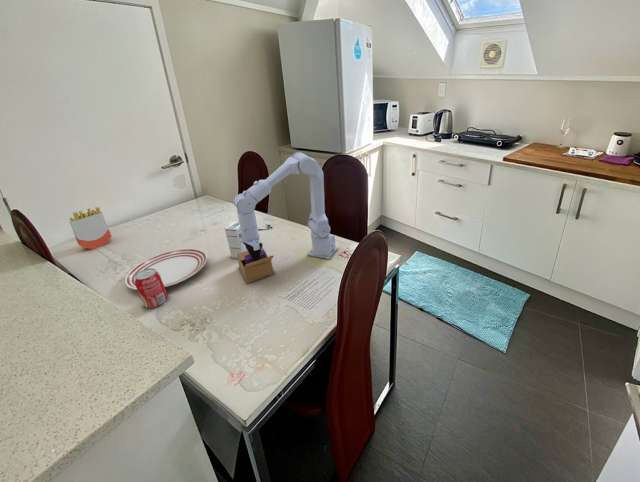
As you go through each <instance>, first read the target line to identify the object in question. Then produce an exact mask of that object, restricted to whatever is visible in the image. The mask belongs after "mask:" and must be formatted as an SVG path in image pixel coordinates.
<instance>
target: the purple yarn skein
mask: <svg viewBox="0 0 640 482" xmlns="http://www.w3.org/2000/svg"><path fill="white" fill-rule="evenodd" d="M265 252H266V251H265ZM265 252H264V251H263V250H261V251H260V260H261V259H264V258H266V254H267V253H266V254H265ZM244 257H245V261H246V264H249V263H252V262H254V261H253V259H252V257H251V254H248V255H245V256H244Z"/></svg>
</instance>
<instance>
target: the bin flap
mask: <svg viewBox="0 0 640 482" xmlns="http://www.w3.org/2000/svg"><path fill="white" fill-rule="evenodd" d="M273 257H274V256H273V255H270V256H268V257H267V258H264V259H261V260H258V261H255V262H252V263H249V264H246V265H245V268H244V269H247V268H250V267H252V266H255V265H258V264H261V263H264V262H267V261H270V260H271V261H272V259H273Z"/></svg>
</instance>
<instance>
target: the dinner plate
mask: <svg viewBox="0 0 640 482" xmlns="http://www.w3.org/2000/svg"><path fill="white" fill-rule="evenodd" d="M207 262H208V254H207V253H206V251H204V250H202V249H199V248H190V247H189V248H178V249H172V250H169V251H165V252H162V253H159V254H156V255H154V256H150V257H149V258H147V259H145V260H143V261H142V262H139V263H138V264H136V265H135V266H134V267H132V268H131V269H130V270H129V271H128V272H127V274H126V275H125V277H124V284H125V286H126V287H127V288H129V289H131V290H135V291H137V288H136V285H135V275H136V274H137V273H138V272H140V271H142V270H145V269H150V268H153V269H155V270H156V271H157V272H158V273H159V274H160V276H161V279H162V282H163V284H164V287H165V288H168V287H172V286H175V285H177V284H179V283H182V282H184V281H186V280H188V279H190V278H191V277H193V276H194V275H196V274H197V273H198V272H200V271H201V270H202V268H203V267H204V266H205V265H206V263H207Z"/></svg>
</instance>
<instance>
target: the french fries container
mask: <svg viewBox="0 0 640 482" xmlns="http://www.w3.org/2000/svg"><path fill="white" fill-rule="evenodd" d="M86 209H87V212H83V211H82V210H79V211H75V212H72V215H73V217H69V225H70V227H71V229H72V233H73V235H74V238H75V240H76V242H77V245H78V246H80V247H81V248H84V249H89V250H93V249H96V248H99V247H102V246H104V245H107V244H108V242H109V241H110V240H111V239H112V233H111V232H110V229H109V226H108V224H107V221H106V219H105V216H104V214H103V212H102V211H101V209H100V207H99V206H95V209H90V208H86Z"/></svg>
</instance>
